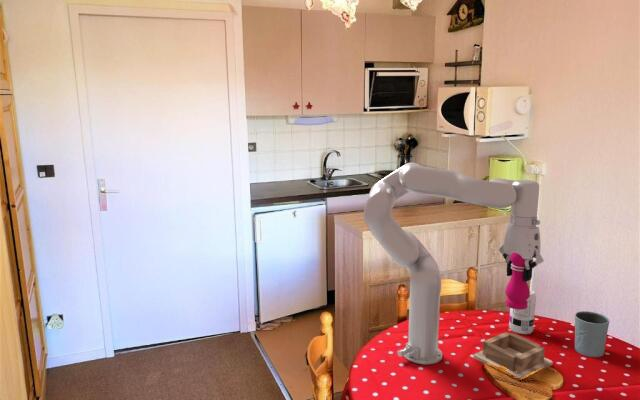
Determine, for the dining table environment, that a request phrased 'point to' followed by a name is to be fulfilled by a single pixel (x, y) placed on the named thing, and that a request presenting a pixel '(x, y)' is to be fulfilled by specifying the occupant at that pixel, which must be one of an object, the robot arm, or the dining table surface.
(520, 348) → the stand
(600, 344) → the grey cylindrical pot
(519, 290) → the pepper mill
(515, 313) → the supplement can
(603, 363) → the dining table surface
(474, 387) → the dining table surface
